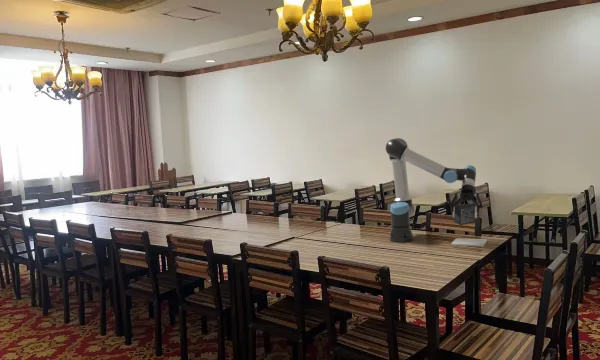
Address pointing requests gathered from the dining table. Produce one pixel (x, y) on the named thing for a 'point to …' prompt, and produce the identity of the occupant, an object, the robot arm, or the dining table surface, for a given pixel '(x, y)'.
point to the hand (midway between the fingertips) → (464, 216)
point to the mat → (469, 242)
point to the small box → (464, 214)
